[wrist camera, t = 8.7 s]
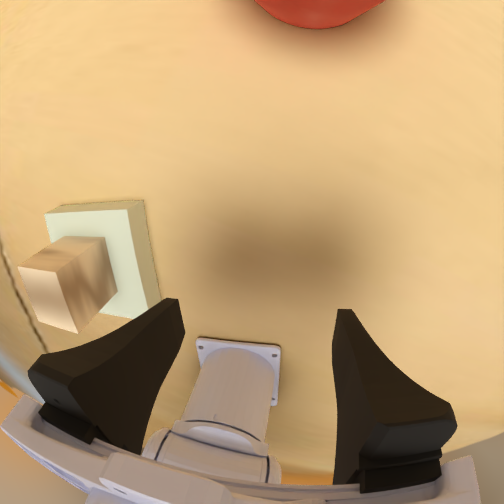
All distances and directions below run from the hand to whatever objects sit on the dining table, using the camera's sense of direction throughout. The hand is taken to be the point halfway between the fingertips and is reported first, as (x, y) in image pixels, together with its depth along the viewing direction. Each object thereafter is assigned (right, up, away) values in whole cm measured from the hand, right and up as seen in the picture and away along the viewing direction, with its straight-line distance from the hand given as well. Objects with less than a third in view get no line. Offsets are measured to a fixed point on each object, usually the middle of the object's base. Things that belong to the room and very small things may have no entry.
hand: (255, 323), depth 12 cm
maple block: (-14, +2, +9) cm, 17 cm away
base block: (-13, +3, +12) cm, 18 cm away
